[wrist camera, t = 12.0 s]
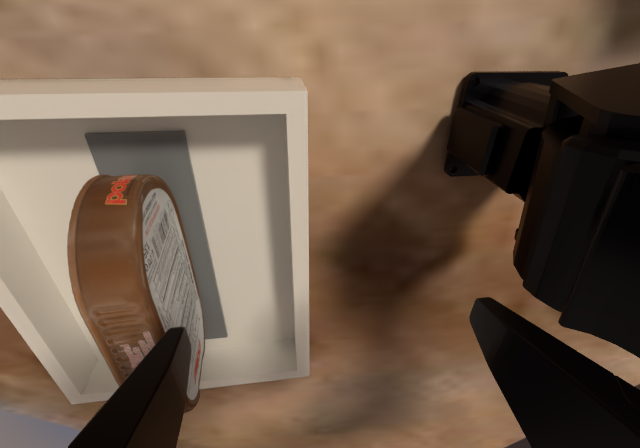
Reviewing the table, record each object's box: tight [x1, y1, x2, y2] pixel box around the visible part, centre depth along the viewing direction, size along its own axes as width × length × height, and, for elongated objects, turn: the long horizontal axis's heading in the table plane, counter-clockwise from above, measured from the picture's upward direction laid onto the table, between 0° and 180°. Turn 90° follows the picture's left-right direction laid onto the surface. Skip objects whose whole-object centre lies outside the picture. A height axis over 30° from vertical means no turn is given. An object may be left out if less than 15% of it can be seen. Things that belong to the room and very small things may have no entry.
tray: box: [0, 77, 310, 404], centre depth 21 cm, size 18×22×4 cm
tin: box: [67, 174, 205, 413], centre depth 18 cm, size 15×3×8 cm, turn 179°
